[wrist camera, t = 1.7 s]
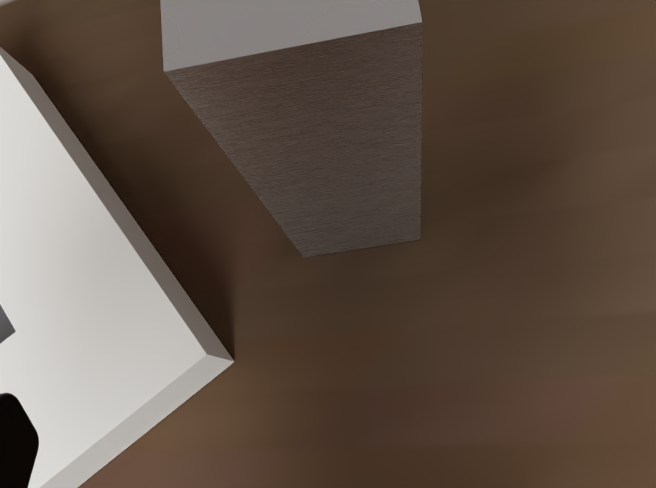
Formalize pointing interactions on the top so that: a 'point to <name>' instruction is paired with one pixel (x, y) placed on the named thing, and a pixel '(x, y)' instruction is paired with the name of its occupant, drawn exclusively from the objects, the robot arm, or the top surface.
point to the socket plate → (84, 299)
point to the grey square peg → (310, 109)
